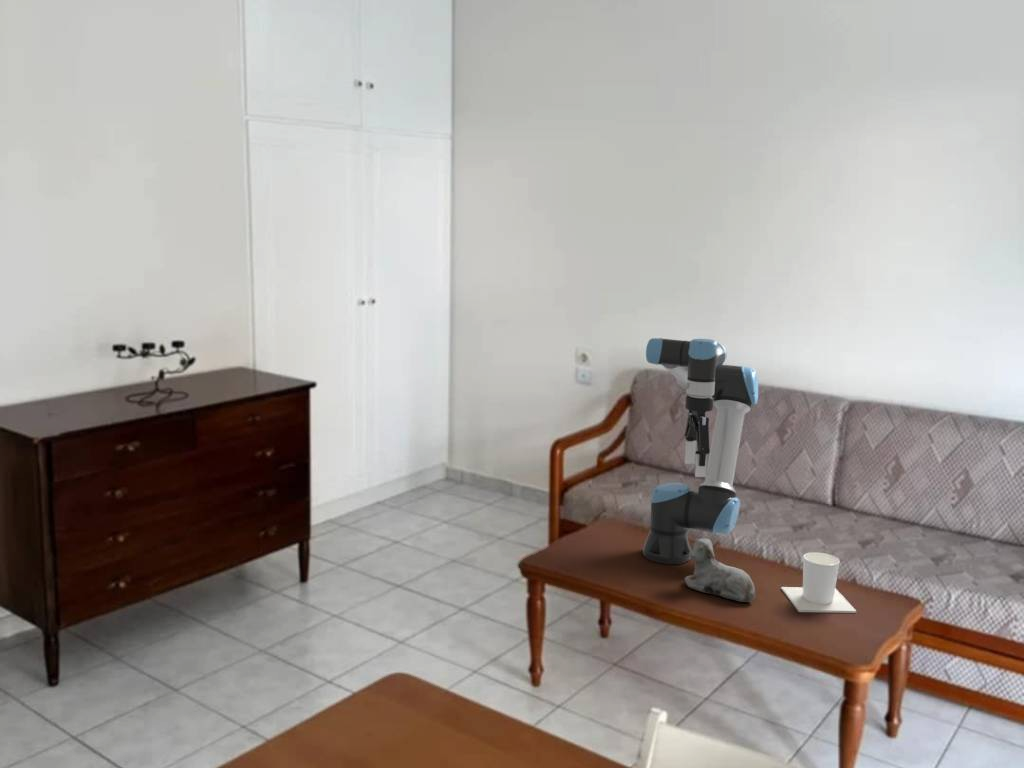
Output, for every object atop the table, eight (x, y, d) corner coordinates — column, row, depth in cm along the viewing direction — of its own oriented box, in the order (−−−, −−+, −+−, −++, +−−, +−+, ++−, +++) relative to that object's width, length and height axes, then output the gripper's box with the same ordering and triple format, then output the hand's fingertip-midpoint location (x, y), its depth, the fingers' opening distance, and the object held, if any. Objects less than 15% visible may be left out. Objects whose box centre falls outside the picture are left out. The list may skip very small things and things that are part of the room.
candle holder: (799, 589, 272) (803, 550, 270) (835, 594, 270) (839, 554, 268) (799, 602, 263) (803, 562, 261) (836, 607, 260) (840, 566, 258)
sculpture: (686, 580, 278) (690, 532, 276) (758, 593, 270) (762, 544, 268) (678, 593, 269) (681, 543, 266) (752, 607, 261) (757, 556, 258)
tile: (781, 588, 274) (781, 586, 274) (835, 589, 275) (835, 588, 274) (799, 611, 258) (799, 609, 258) (856, 613, 259) (856, 610, 259)
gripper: (677, 386, 270) (672, 458, 274) (696, 404, 245) (690, 482, 249) (703, 387, 270) (698, 458, 274) (724, 405, 246) (718, 483, 249)
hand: (694, 470), depth 262 cm, fingers open, 13 cm apart
